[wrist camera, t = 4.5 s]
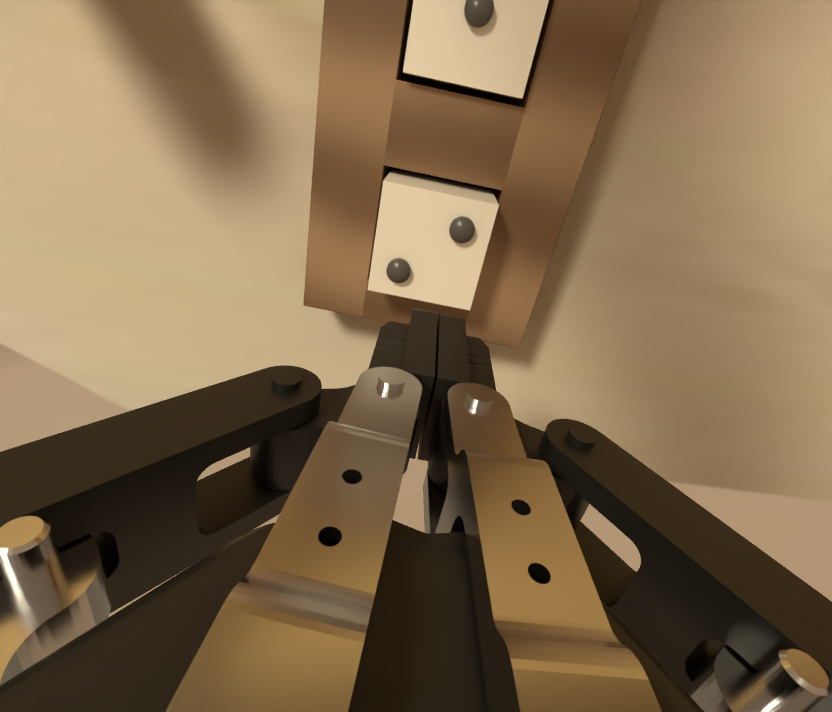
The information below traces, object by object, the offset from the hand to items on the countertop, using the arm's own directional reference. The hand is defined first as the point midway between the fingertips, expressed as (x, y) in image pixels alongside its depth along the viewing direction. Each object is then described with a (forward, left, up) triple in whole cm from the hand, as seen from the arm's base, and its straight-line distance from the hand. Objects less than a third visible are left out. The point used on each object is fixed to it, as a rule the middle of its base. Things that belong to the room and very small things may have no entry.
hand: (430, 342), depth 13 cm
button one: (-9, 0, -14) cm, 16 cm away
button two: (0, 0, -12) cm, 12 cm away
